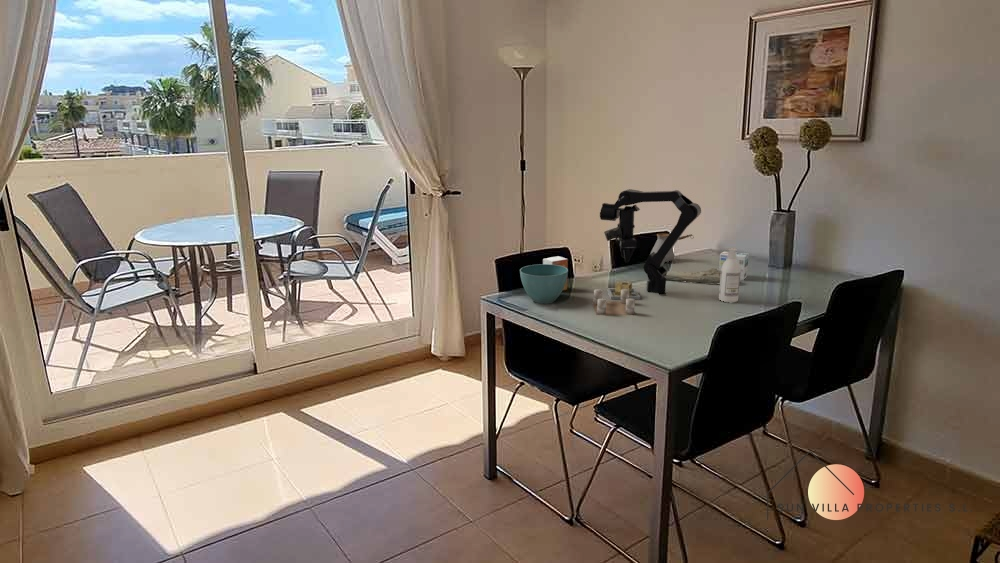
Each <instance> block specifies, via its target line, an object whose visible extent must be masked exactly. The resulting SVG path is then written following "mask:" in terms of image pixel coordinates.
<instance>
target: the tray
mask: <svg viewBox="0 0 1000 563" xmlns="http://www.w3.org/2000/svg"><path fill="white" fill-rule="evenodd" d="M606 292H607V294H608V296H609V298H610V300H612V301H618V300H619V301H621V296H615V295H613V294H615V288H607V290H606ZM632 294H634V295H631V296H629V298H631V299H635V301H637V300H638V301H639V300H641V295H640V294H639V292H638V291H637V289H636V288H633V287H632Z"/></svg>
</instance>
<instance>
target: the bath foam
mask: <svg viewBox="0 0 1000 563" xmlns="http://www.w3.org/2000/svg"><path fill="white" fill-rule="evenodd" d="M727 250H728V251H727V252H728V258H727V260H726V261H725V262H724V263H723V265H722V268H721V276H720V285H719V288H718V300H719V301H720V300H721V301H720V302H723V301H724V302H723V303H728V302H733V303H737V302H738V300H739V294H740V282H741V280H740V274H741V269H740V265H739V263H738V261H737V259H736V254H737V253H738V252H737V251H738V249H737V248H735V247H731V248H730V247H729V248H728V249H727Z"/></svg>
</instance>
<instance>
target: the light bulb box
mask: <svg viewBox="0 0 1000 563" xmlns="http://www.w3.org/2000/svg"><path fill="white" fill-rule="evenodd" d="M727 258H728V251H722V252H721V253H720V254H719V262H718V263H719V264H718V266H719V267H718V270H719V271H720V270H721V268H722V265H723V263H724V262H725V261H726V260H727ZM736 259H737V261H738V263H739V265H740V269H741V274H740V279H745V278H746V277H747V278H748V268H749V267H748V266H749V253H745V252H737V254H736ZM747 278H746V279H747ZM746 279H745V280H746Z"/></svg>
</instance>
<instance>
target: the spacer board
mask: <svg viewBox="0 0 1000 563" xmlns="http://www.w3.org/2000/svg"><path fill="white" fill-rule="evenodd" d="M635 302H636V300H635V299H631V298H629V290H628V289H622V290H621V300H619V301H618V300H612V301H607V299H606V298H603V290H602V289H601V288H596V289H593V300H592V301H591V304H592V306H593V309H594V312H595V315H596V316H637V313H636V312H635Z"/></svg>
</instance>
